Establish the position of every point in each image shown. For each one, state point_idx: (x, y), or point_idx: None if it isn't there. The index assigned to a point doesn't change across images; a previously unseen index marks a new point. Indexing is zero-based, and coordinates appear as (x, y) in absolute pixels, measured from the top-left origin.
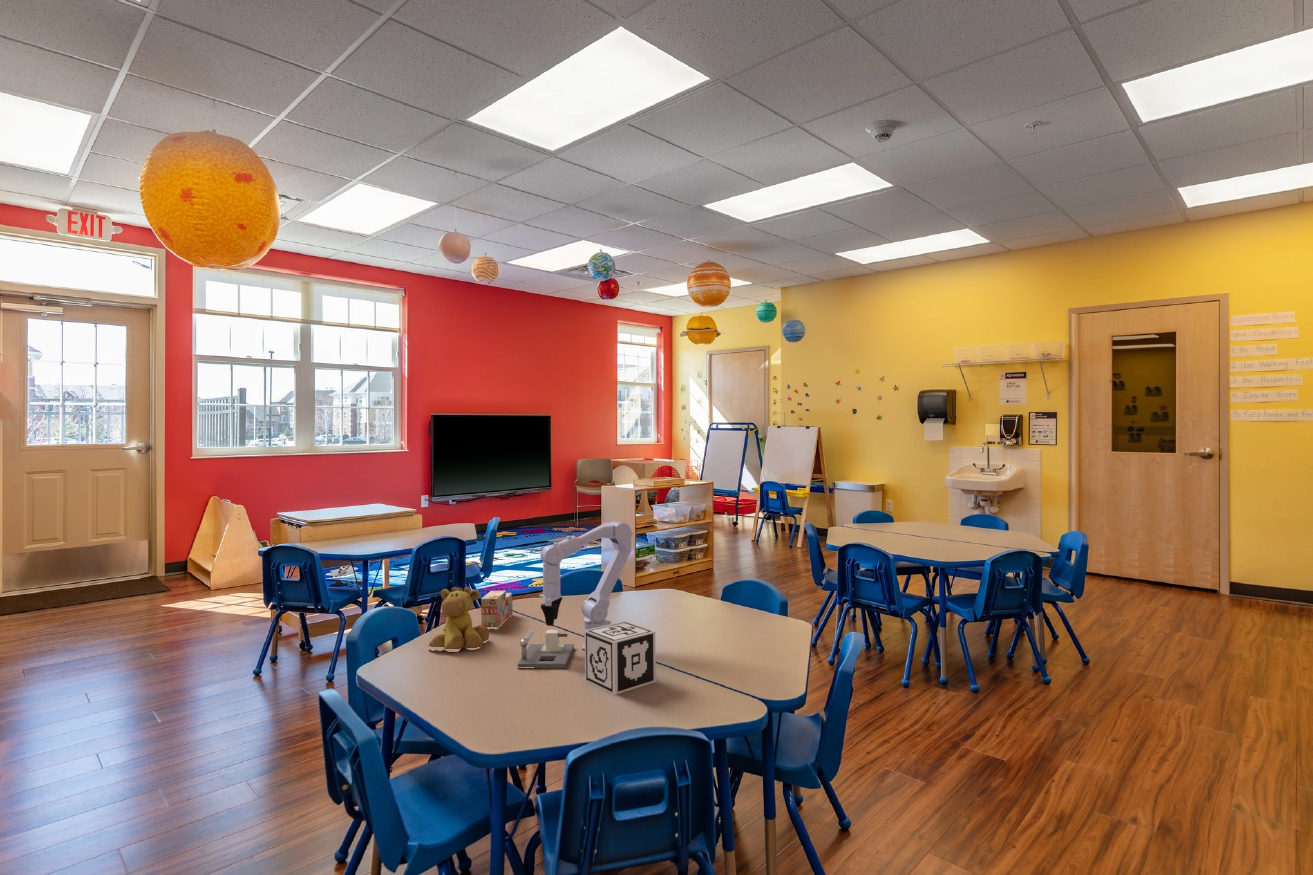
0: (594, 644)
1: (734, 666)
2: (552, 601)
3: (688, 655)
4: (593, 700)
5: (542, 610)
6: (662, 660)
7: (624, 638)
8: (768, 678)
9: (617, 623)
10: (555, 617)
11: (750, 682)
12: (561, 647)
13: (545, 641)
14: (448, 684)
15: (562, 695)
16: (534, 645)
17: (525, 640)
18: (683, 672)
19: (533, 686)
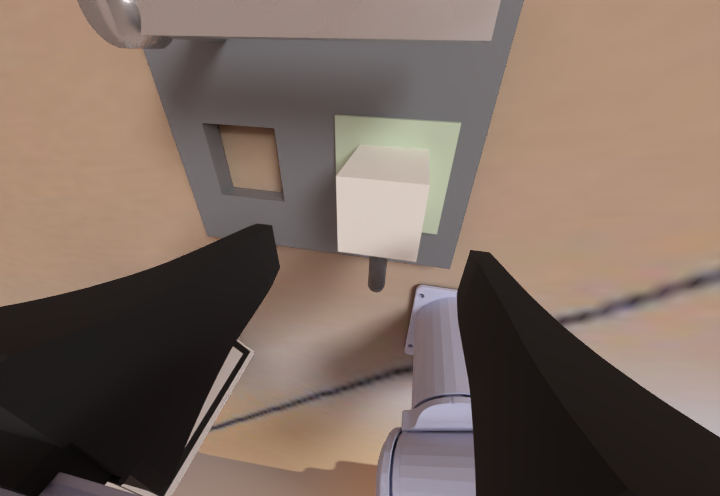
0: None
1: (294, 457)
2: (524, 494)
3: (347, 440)
4: (60, 281)
5: (41, 299)
6: (316, 408)
7: None
8: (254, 461)
9: (128, 489)
10: (461, 300)
11: (235, 447)
12: None
13: (349, 158)
14: None
15: (37, 221)
16: (480, 47)
17: (97, 30)
18: (255, 413)
19: (30, 130)
